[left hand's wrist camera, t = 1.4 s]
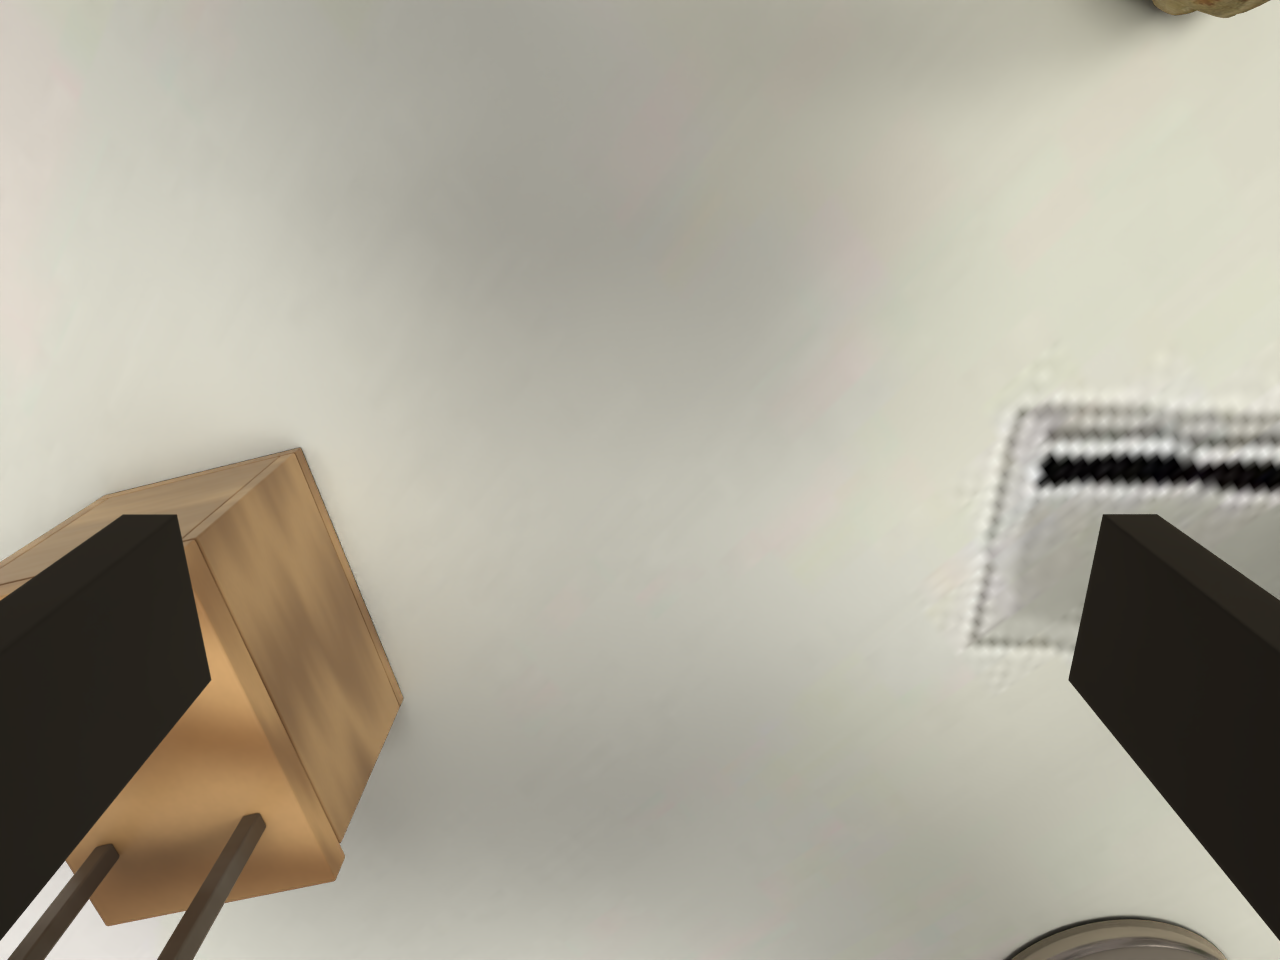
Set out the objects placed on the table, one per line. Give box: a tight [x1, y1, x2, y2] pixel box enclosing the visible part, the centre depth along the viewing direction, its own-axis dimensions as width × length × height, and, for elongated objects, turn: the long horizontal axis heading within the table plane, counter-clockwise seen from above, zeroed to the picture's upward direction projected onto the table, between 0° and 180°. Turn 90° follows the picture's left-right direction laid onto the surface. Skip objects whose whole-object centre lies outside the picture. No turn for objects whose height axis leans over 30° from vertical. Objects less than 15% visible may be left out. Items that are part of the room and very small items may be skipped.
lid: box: [0, 540, 345, 960], centre depth 27 cm, size 14×9×10 cm
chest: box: [0, 448, 403, 843], centre depth 36 cm, size 13×9×10 cm
